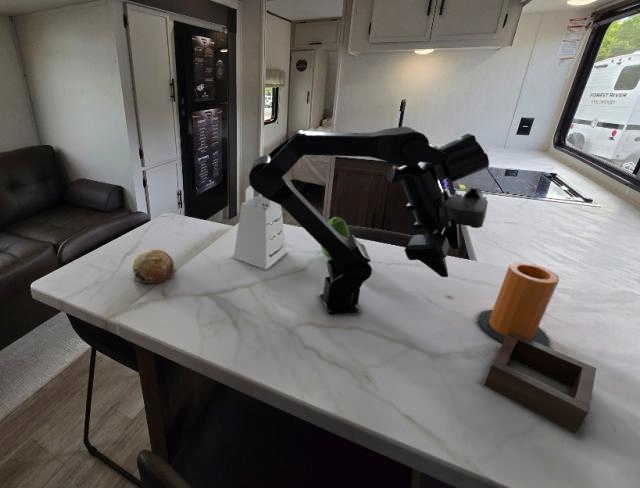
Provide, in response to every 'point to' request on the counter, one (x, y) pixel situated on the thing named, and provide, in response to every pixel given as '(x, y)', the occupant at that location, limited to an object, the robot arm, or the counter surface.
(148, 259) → the bread roll
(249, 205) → the grater
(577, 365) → the open rectangular box
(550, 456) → the counter surface
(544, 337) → the coaster
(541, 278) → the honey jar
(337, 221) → the avocado
